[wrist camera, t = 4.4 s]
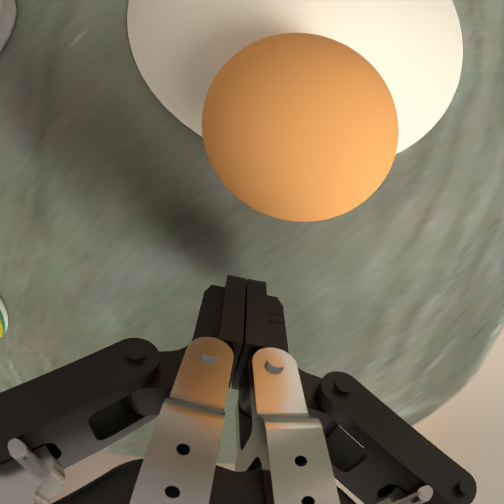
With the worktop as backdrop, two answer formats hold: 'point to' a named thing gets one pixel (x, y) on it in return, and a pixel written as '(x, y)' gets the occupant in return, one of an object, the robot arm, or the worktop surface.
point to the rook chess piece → (7, 20)
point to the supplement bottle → (3, 318)
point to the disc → (301, 21)
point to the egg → (300, 127)
